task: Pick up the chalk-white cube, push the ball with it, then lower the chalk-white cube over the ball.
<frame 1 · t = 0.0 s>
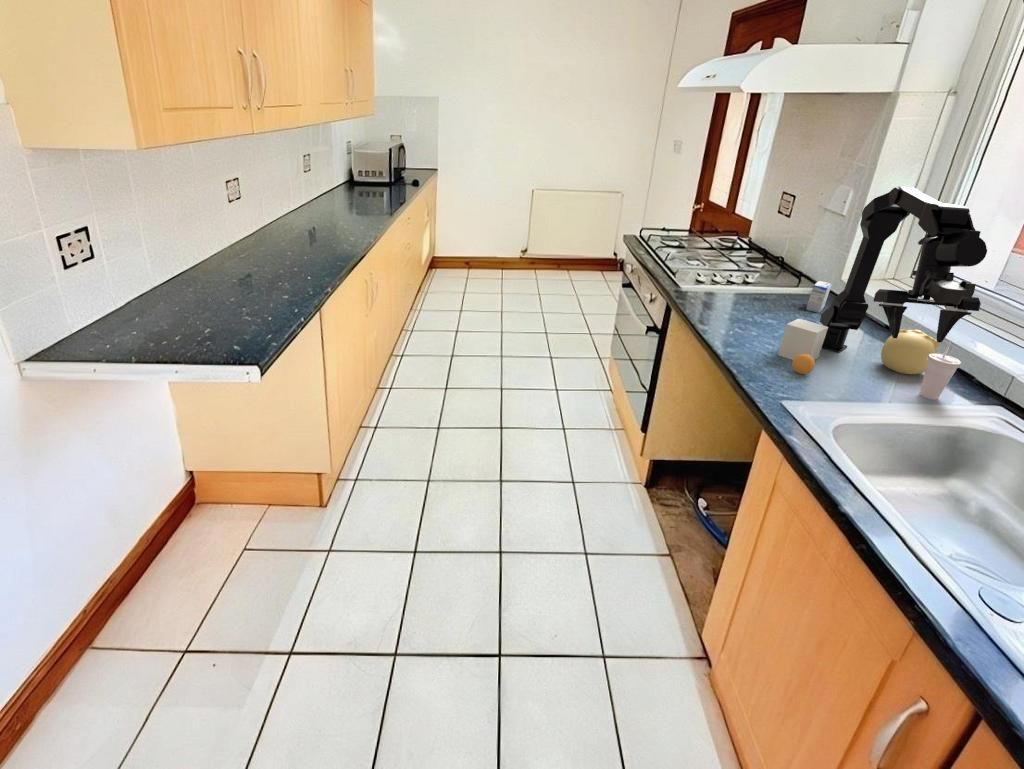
hand: (916, 340, 123), 15 cm above the worktop, tool pointing down, fingers open, 9 cm apart
smoothie: (928, 396, 135), on the worktop
pale yellow rounded lump: (901, 370, 149), on the worktop
medicine box: (814, 309, 194), on the worktop
chalk-white cube: (797, 356, 153), on the worktop
ball: (803, 364, 141), on the worktop
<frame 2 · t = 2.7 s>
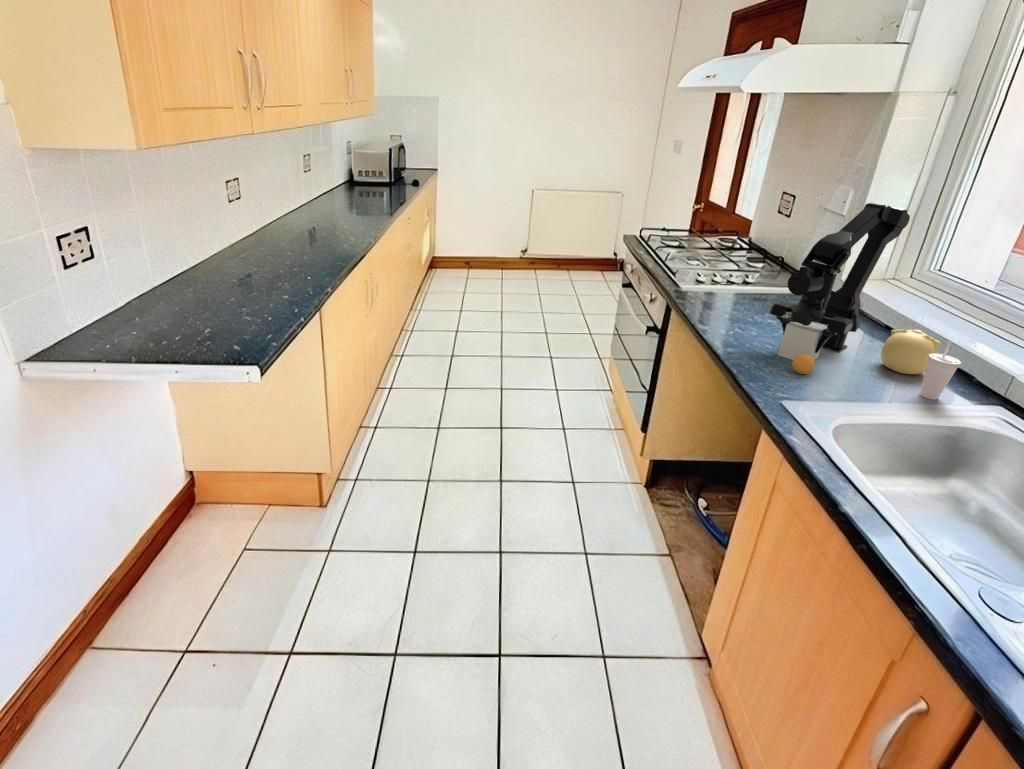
hand: (800, 347, 152), 3 cm above the worktop, tool pointing down, fingers closed on chalk-white cube, 8 cm apart
chalk-white cube: (797, 356, 153), on the worktop, touching gripper
everything else where it was.
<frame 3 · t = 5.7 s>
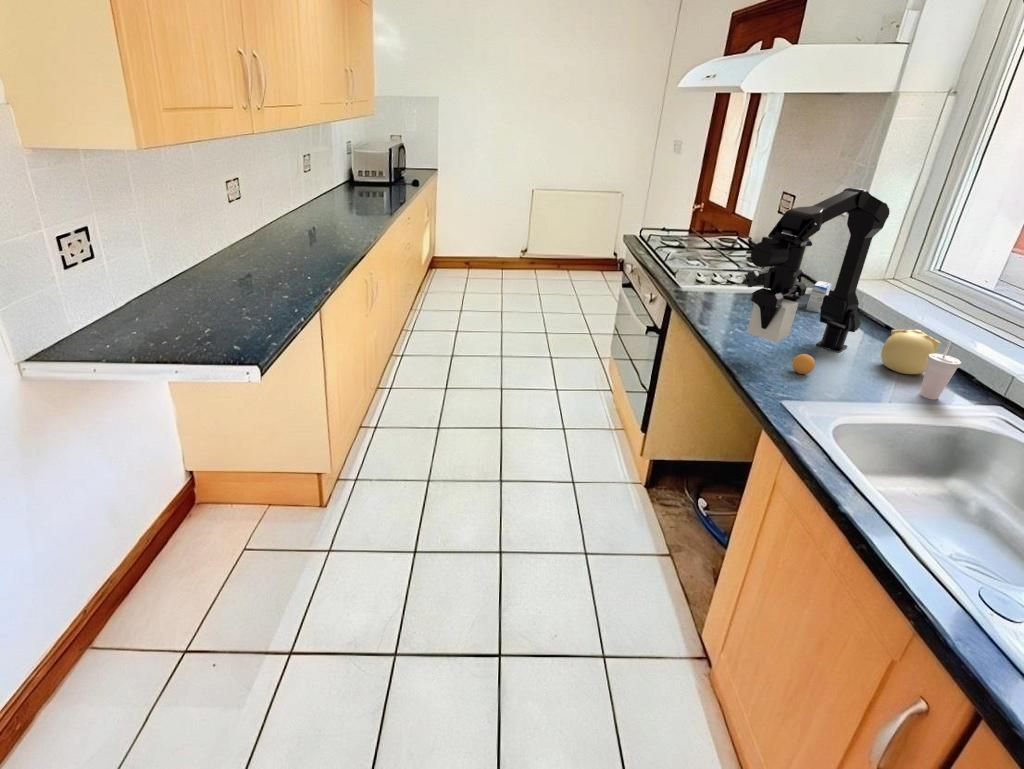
hand: (770, 325, 145), 9 cm above the worktop, tool pointing down, fingers closed on chalk-white cube, 8 cm apart
chalk-white cube: (767, 334, 146), point 7 cm above the worktop, touching gripper
everything else where it was.
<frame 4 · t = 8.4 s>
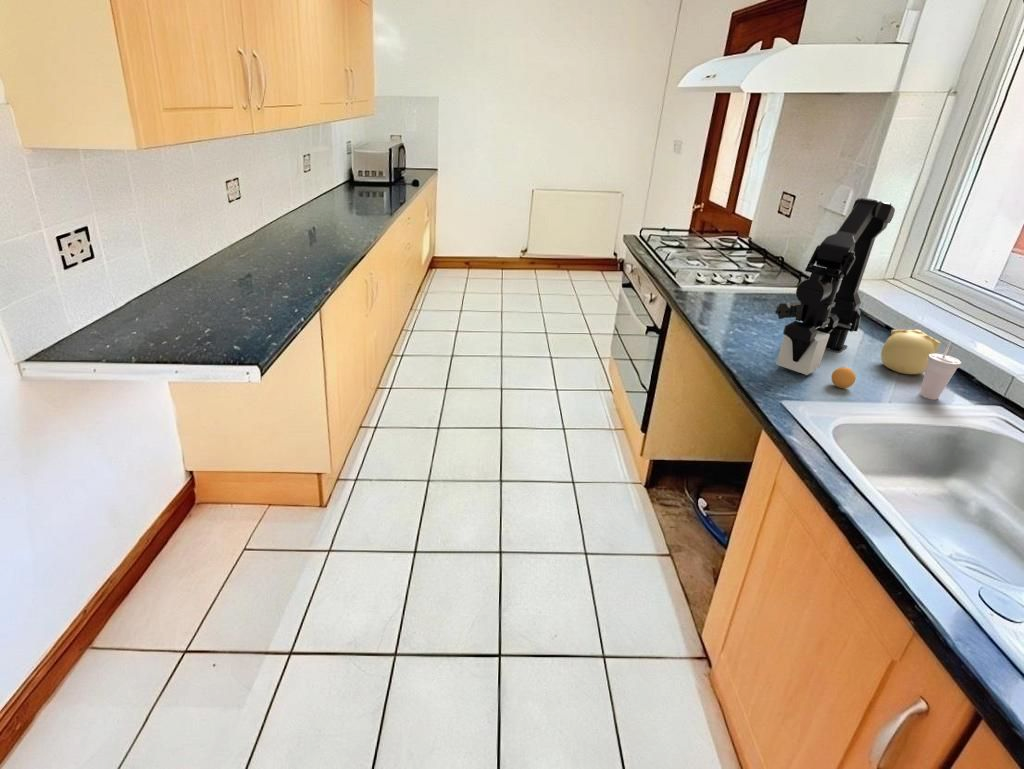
hand: (801, 357, 141), 4 cm above the worktop, tool pointing down, fingers closed on chalk-white cube, 8 cm apart
chalk-white cube: (797, 365, 143), point 2 cm above the worktop, touching gripper
ball: (843, 377, 135), on the worktop
everything else where it was.
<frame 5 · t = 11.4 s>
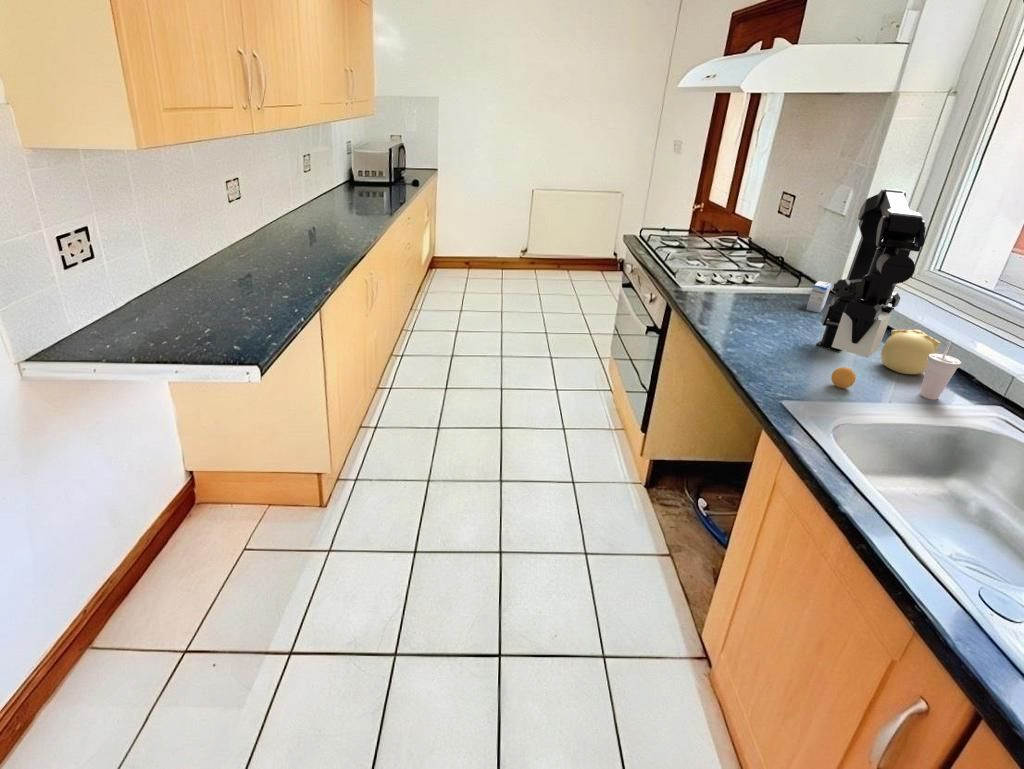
hand: (860, 339, 131), 12 cm above the worktop, tool pointing down, fingers closed on chalk-white cube, 8 cm apart
chalk-white cube: (854, 348, 132), point 10 cm above the worktop, touching gripper
everything else where it was.
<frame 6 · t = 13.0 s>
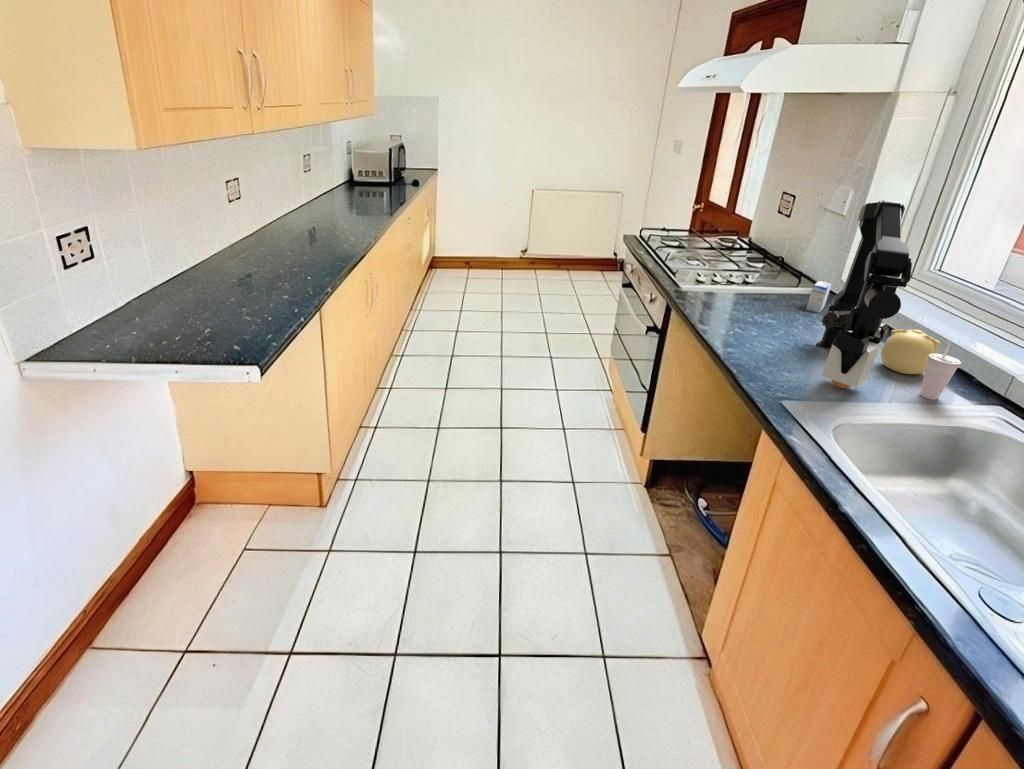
hand: (849, 368, 134), 5 cm above the worktop, tool pointing down, fingers closed on chalk-white cube, 8 cm apart
chalk-white cube: (844, 377, 136), point 2 cm above the worktop, touching gripper
everything else where it was.
when the fingers open (3 cm above the worktop, at t = 14.2 s): chalk-white cube stays where it is, on the worktop.
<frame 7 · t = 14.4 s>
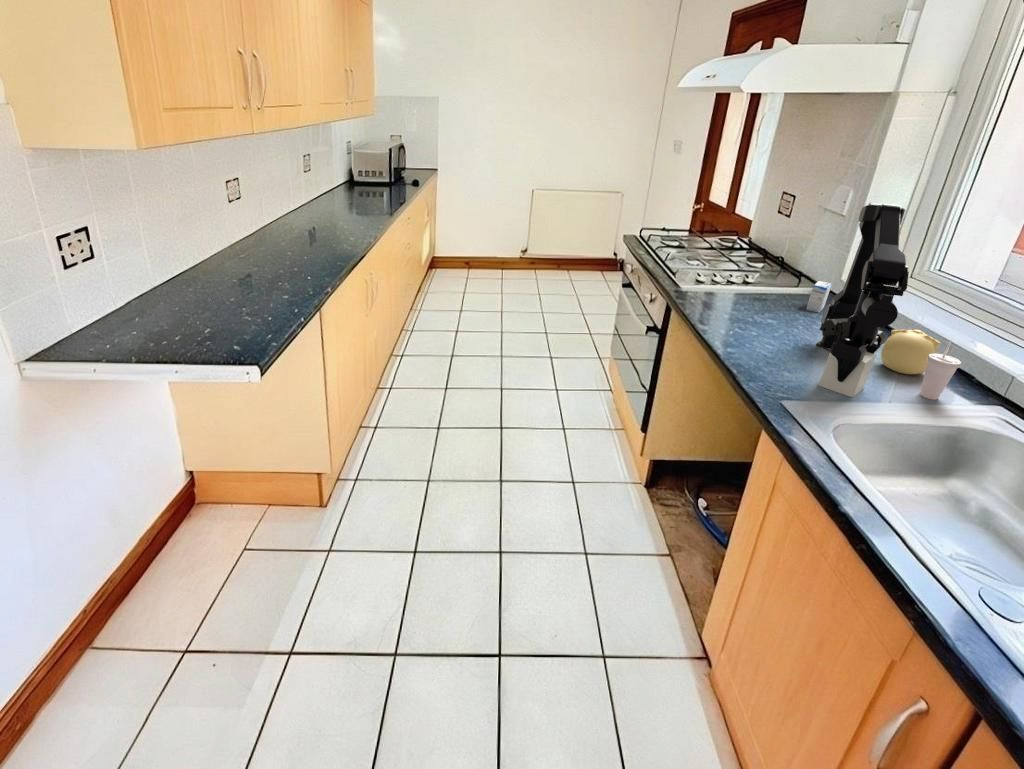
hand: (846, 376, 135), 3 cm above the worktop, tool pointing down, fingers open, 9 cm apart
chalk-white cube: (841, 387, 137), on the worktop
everything else where it was.
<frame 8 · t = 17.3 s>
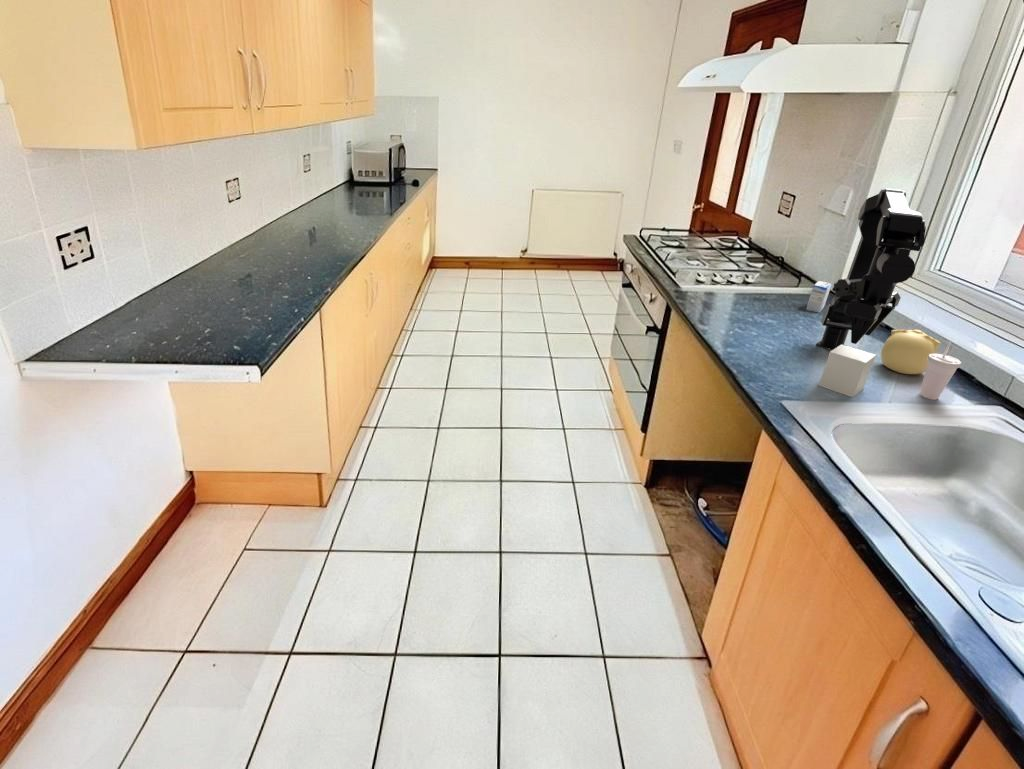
hand: (860, 338, 131), 12 cm above the worktop, tool pointing down, fingers open, 9 cm apart
nothing on the worktop moved.
at the end: ball 0.3 cm from the chalk-white cube (horizontally); chalk-white cube on the worktop; ball moved 9.4 cm from its start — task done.
